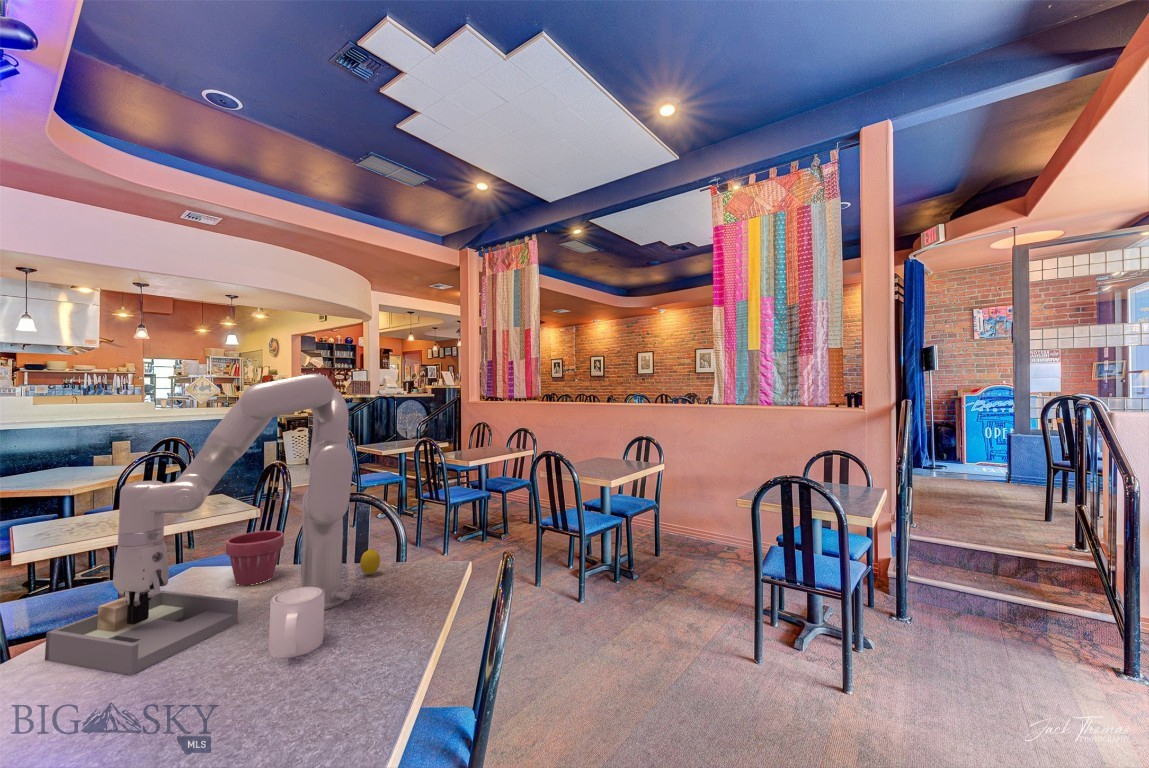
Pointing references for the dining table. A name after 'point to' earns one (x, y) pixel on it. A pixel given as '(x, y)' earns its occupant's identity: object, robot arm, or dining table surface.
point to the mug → (296, 621)
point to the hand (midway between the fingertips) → (137, 621)
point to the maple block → (113, 616)
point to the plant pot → (254, 555)
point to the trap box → (142, 634)
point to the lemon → (370, 561)
